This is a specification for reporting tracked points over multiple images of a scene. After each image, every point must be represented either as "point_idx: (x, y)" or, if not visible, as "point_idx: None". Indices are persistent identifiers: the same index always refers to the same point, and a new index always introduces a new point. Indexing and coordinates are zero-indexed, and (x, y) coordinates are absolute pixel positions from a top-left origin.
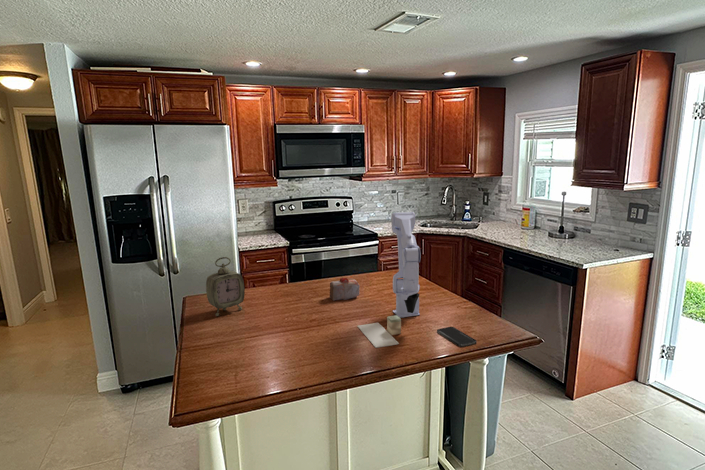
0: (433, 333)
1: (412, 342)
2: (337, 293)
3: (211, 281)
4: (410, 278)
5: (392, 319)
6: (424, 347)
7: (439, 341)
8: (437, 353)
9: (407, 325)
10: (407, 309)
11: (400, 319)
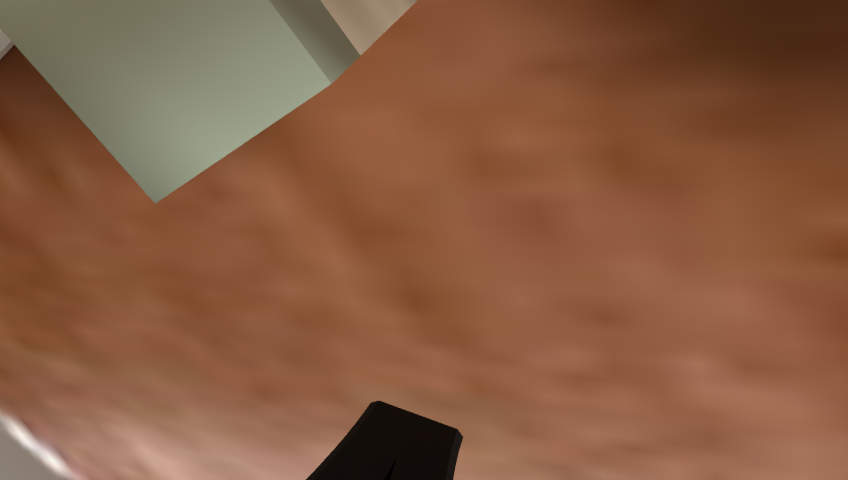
0: (467, 463)
1: (125, 230)
2: None
3: None
4: None
5: (19, 7)
6: (87, 339)
7: (282, 477)
8: (48, 422)
9: (711, 152)
10: (333, 457)
11: (153, 186)
